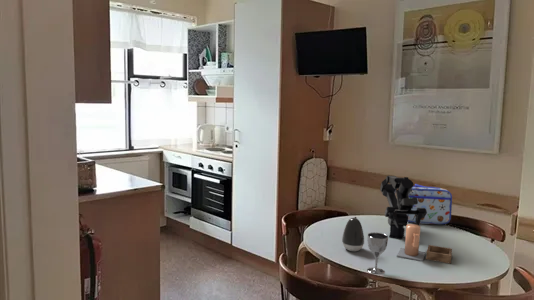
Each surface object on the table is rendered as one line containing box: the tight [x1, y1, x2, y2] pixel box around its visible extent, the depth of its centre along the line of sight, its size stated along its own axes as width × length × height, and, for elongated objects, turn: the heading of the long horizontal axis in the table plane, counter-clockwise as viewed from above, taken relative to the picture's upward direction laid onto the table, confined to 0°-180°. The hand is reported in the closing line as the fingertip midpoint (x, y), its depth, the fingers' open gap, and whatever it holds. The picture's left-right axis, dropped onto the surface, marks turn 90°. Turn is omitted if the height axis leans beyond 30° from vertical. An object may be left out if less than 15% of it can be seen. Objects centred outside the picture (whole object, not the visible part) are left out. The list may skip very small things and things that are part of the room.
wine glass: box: [366, 232, 389, 275], centre depth 171 cm, size 8×8×15 cm
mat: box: [396, 247, 427, 262], centre depth 190 cm, size 11×11×1 cm
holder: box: [425, 244, 453, 264], centre depth 188 cm, size 10×10×4 cm
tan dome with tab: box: [404, 223, 421, 256], centre depth 188 cm, size 9×6×13 cm
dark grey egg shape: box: [341, 216, 365, 252], centre depth 195 cm, size 10×10×15 cm
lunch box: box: [407, 183, 453, 225], centre depth 242 cm, size 28×10×22 cm, turn 78°
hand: (408, 228), depth 196 cm, fingers open, 9 cm apart
